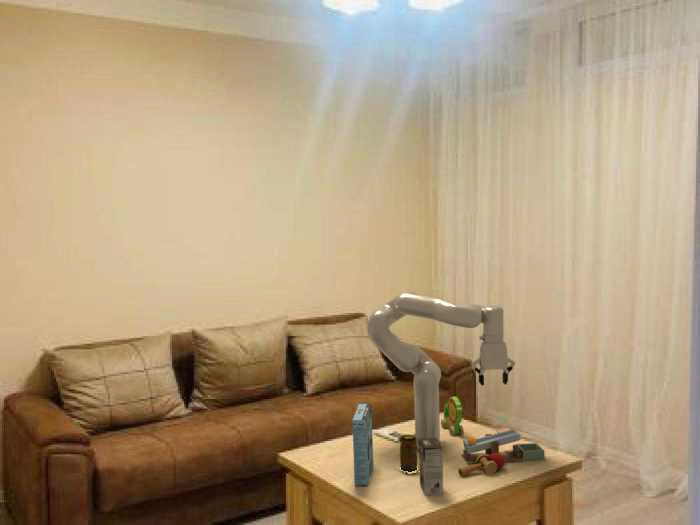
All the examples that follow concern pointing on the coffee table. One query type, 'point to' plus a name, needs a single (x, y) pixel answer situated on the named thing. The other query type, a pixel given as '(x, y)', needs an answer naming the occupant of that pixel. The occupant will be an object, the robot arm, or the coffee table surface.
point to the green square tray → (531, 451)
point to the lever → (485, 442)
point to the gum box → (362, 444)
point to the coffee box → (431, 466)
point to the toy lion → (453, 416)
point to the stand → (508, 456)
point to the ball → (472, 441)
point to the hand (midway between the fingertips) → (493, 384)
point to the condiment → (408, 453)
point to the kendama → (484, 464)
